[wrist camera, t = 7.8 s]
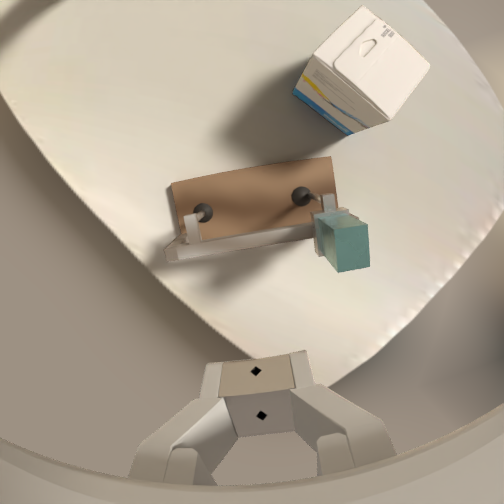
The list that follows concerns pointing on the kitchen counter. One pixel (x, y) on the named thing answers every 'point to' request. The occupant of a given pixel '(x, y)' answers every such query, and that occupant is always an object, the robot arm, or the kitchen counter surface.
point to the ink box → (361, 73)
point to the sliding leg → (339, 235)
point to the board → (249, 207)
